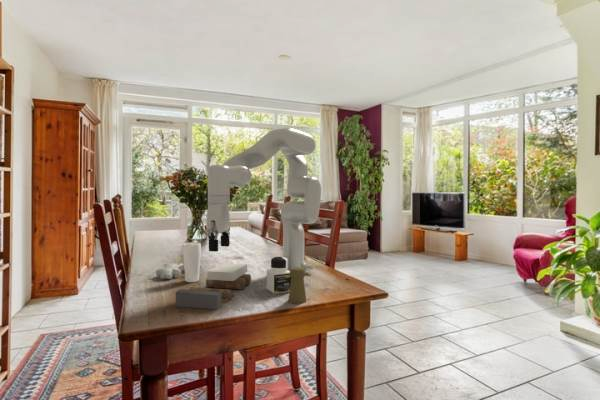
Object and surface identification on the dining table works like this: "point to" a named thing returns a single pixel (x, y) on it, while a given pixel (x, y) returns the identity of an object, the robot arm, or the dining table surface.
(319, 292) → the dining table surface
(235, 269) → the slab
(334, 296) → the dining table surface
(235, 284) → the track
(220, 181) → the robot arm
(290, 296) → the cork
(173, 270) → the bunny figurine
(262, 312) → the dining table surface
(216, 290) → the roller
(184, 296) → the grey rectangular bar
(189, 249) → the white cup
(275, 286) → the medicine bottle
